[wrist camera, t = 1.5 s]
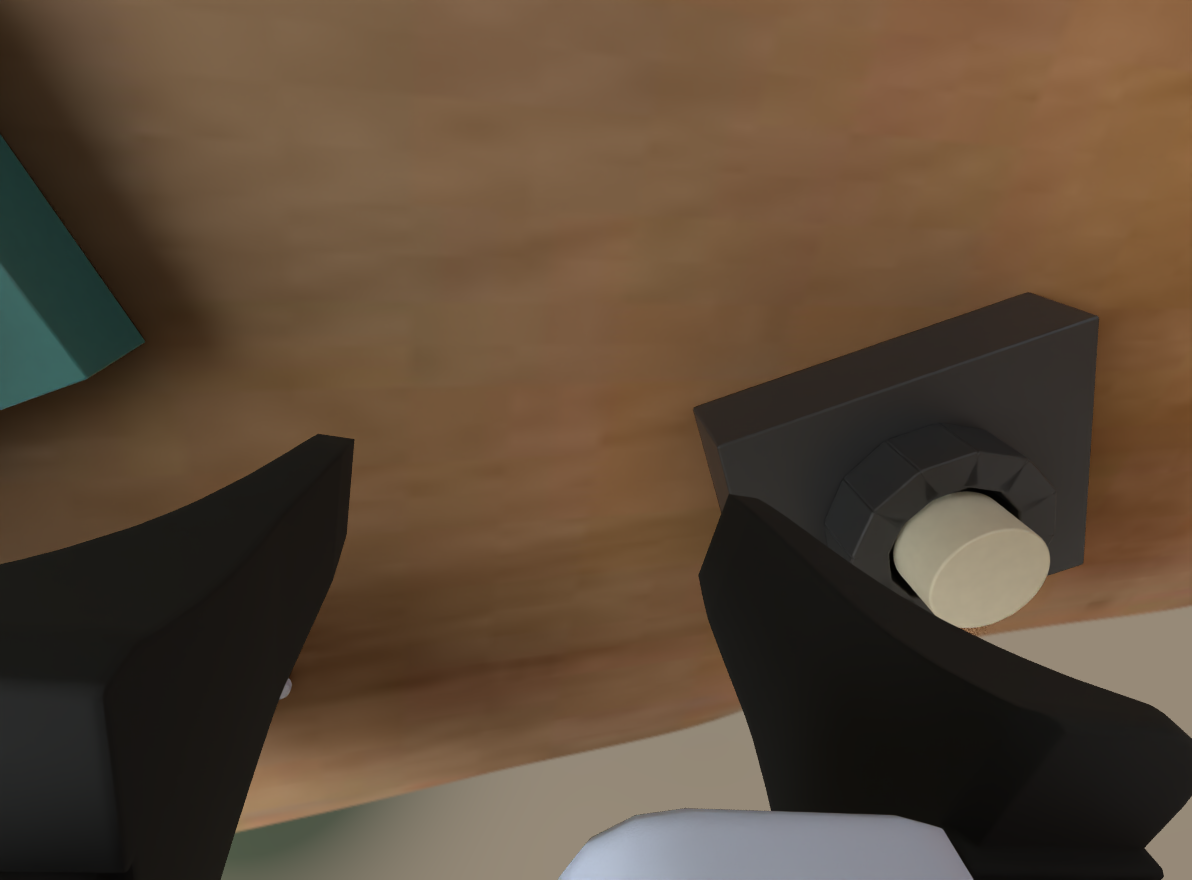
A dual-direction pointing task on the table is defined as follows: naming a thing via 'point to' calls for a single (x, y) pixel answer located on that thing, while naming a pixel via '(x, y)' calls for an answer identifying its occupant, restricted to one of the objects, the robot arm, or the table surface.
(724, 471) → the button base
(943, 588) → the push button
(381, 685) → the table surface
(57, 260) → the dial panel
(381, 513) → the table surface
